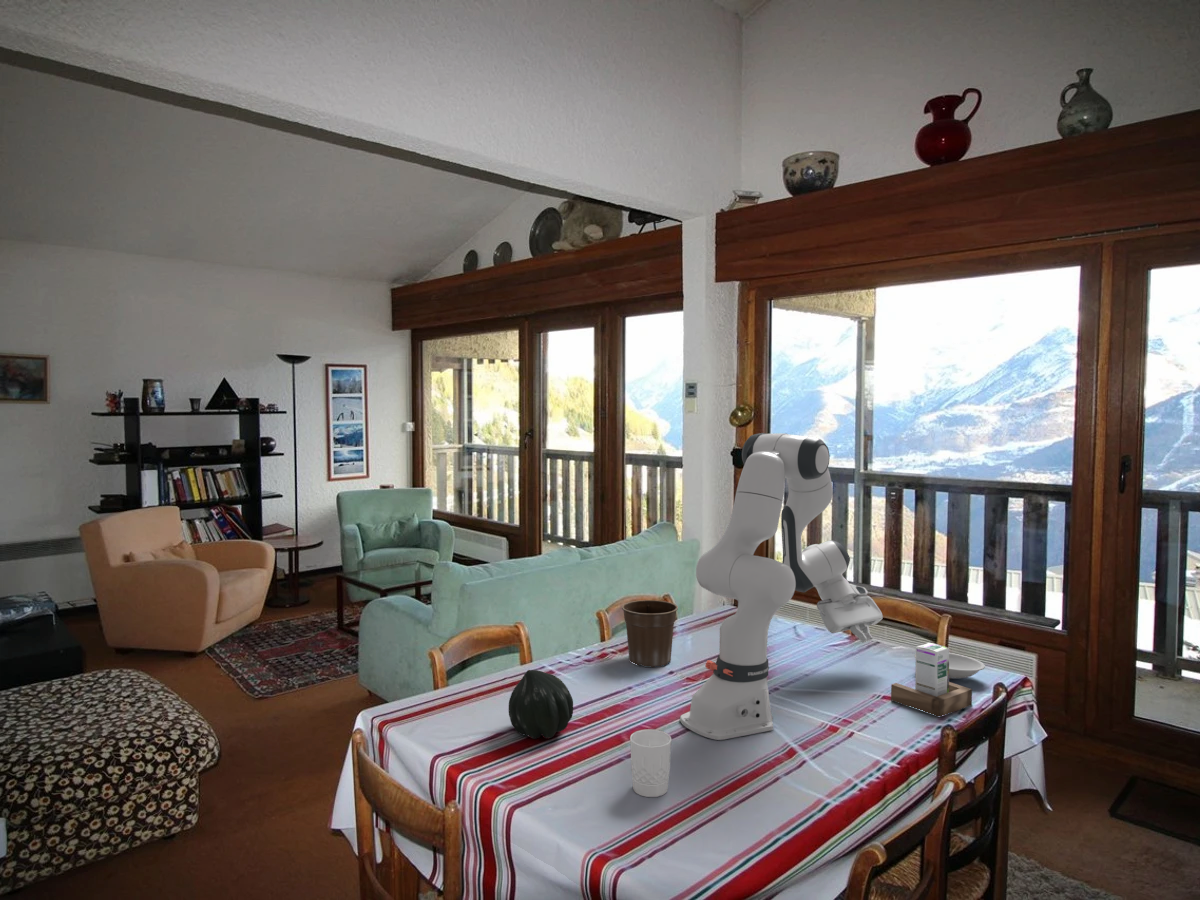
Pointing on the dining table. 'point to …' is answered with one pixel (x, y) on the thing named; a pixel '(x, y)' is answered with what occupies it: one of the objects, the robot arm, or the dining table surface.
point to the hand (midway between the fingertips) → (867, 640)
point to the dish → (963, 666)
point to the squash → (540, 705)
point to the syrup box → (932, 669)
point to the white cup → (650, 762)
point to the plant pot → (650, 631)
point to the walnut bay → (933, 699)
